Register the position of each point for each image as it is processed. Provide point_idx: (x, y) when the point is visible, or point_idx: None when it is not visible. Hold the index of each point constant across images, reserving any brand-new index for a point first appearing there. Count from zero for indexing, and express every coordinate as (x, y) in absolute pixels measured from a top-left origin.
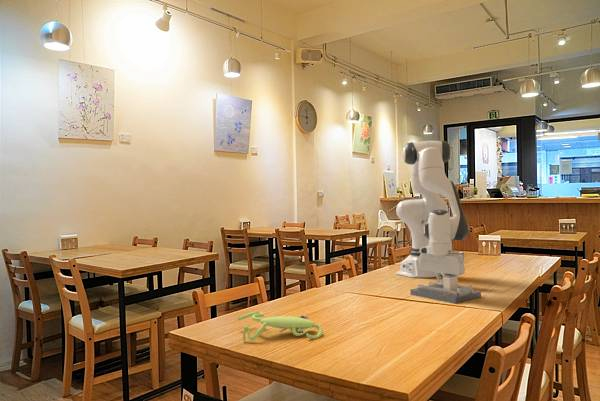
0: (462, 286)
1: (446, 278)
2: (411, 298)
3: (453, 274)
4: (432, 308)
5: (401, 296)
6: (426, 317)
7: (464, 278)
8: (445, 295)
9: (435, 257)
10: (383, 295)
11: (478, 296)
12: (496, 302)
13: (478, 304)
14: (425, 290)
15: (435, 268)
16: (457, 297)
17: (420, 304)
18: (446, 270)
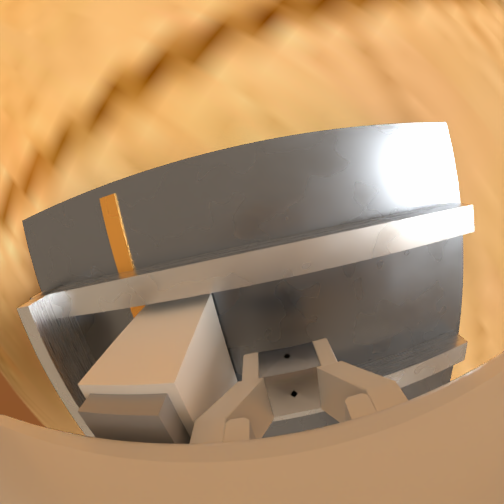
0: None
1: (125, 374)
2: (316, 46)
3: (33, 424)
4: (46, 48)
5: (399, 45)
6: (9, 5)
7: None
8: (100, 216)
9: None
10: (448, 12)
11: None
12: (34, 387)
13: (12, 306)
14: (366, 198)
15: (403, 462)
16: (31, 249)
17: (136, 16)
18: (92, 474)
